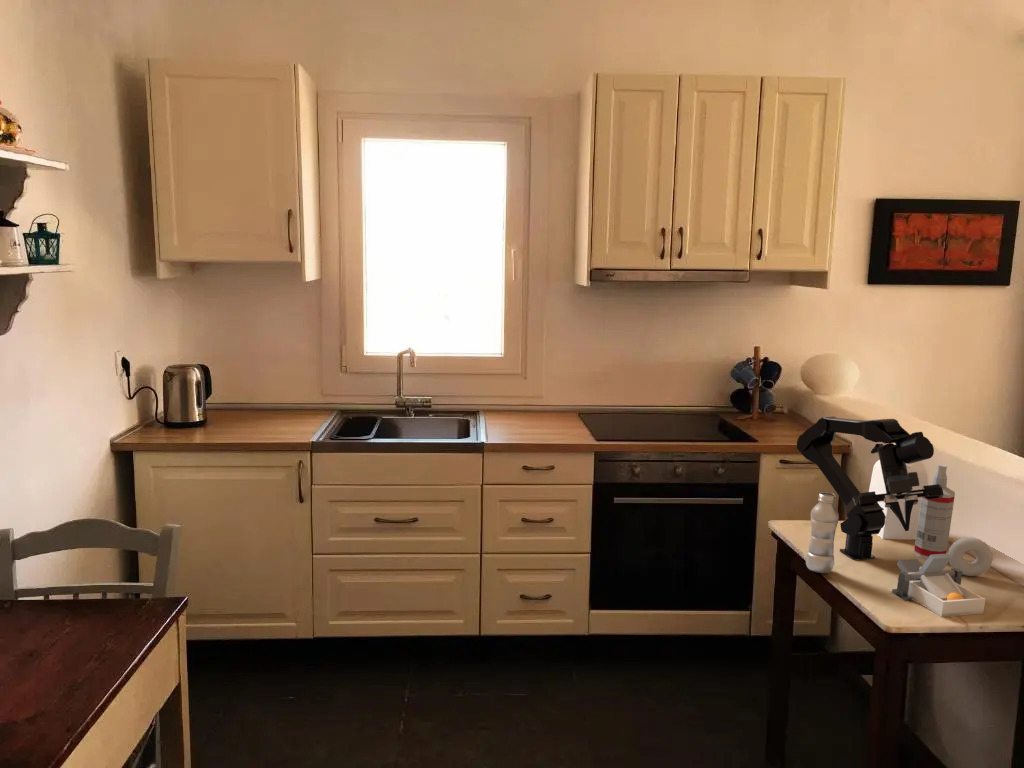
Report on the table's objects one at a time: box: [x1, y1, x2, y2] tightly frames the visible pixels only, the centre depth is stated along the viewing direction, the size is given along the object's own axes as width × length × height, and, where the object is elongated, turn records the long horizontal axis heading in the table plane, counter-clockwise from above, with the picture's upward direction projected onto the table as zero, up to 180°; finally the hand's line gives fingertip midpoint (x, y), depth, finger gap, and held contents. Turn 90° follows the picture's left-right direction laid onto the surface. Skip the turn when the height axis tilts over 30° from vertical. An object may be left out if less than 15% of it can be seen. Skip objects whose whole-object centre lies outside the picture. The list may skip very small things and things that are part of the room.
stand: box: [891, 567, 963, 602], centre depth 190 cm, size 5×16×6 cm, turn 104°
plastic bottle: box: [805, 491, 840, 574], centre depth 200 cm, size 6×7×20 cm
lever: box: [896, 553, 964, 599], centre depth 189 cm, size 14×12×10 cm
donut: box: [947, 536, 994, 577], centre depth 202 cm, size 10×4×10 cm, turn 74°
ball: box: [947, 592, 964, 600], centre depth 182 cm, size 4×4×4 cm
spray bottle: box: [913, 464, 956, 561], centre depth 213 cm, size 8×8×25 cm
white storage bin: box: [908, 580, 986, 618], centre depth 185 cm, size 11×11×4 cm
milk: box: [868, 443, 929, 540], centre depth 230 cm, size 12×12×26 cm
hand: (906, 530), depth 196 cm, fingers closed
